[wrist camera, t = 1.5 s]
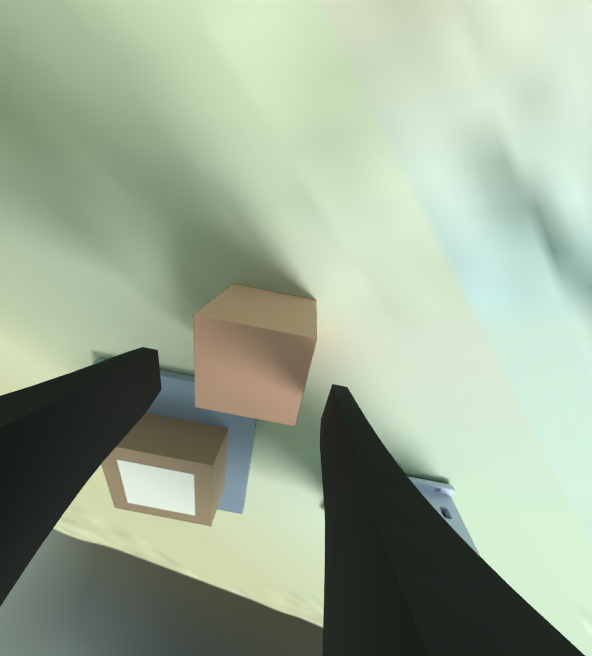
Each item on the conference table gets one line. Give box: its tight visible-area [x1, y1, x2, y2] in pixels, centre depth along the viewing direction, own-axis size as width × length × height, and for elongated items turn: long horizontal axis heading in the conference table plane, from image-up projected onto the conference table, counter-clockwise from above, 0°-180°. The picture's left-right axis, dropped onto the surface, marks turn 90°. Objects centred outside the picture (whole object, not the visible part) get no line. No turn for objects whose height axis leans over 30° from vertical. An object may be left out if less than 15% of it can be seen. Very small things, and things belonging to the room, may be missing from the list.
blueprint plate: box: [93, 358, 256, 526], centre depth 18 cm, size 12×16×4 cm
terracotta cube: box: [193, 284, 317, 426], centre depth 12 cm, size 5×5×5 cm
